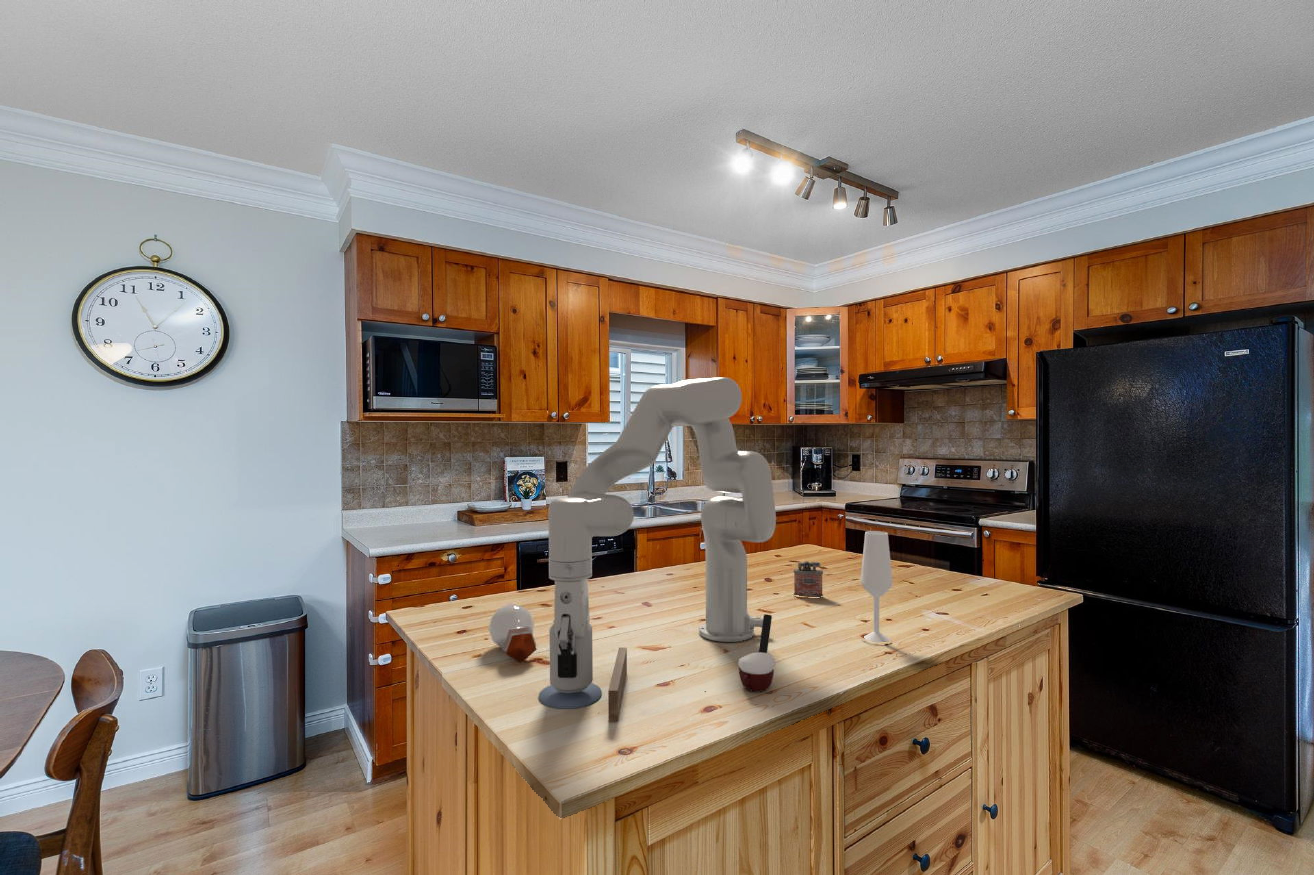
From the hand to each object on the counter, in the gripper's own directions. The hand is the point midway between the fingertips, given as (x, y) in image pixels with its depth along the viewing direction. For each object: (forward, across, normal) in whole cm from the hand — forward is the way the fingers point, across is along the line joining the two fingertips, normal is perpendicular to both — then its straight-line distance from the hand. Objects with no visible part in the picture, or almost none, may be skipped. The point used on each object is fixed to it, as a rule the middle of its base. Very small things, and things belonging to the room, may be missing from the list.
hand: (571, 667), depth 110 cm
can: (+4, 0, 0) cm, 4 cm away
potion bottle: (+5, +22, +15) cm, 27 cm away
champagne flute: (+5, +30, -63) cm, 70 cm away
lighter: (+6, +67, -56) cm, 88 cm away
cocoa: (+5, +4, -33) cm, 34 cm away
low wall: (+5, 0, -8) cm, 10 cm away
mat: (+5, 0, 0) cm, 5 cm away
